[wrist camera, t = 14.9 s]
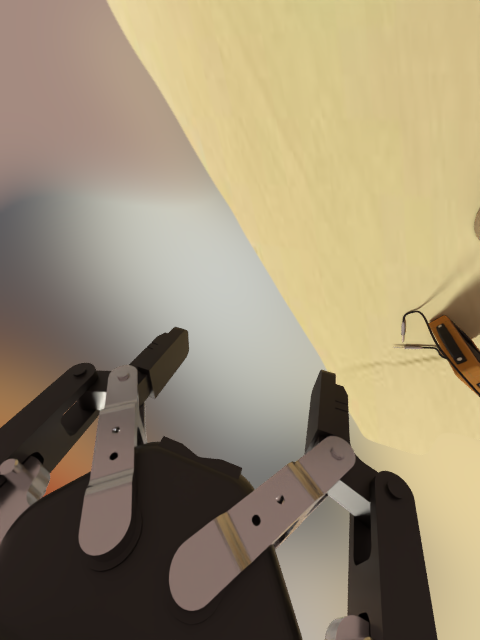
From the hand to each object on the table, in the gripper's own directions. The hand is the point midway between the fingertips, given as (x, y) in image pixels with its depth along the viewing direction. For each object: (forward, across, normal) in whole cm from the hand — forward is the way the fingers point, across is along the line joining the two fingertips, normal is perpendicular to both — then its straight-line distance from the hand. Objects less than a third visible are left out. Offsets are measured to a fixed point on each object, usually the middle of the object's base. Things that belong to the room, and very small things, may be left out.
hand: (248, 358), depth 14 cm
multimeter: (+33, -26, +16) cm, 45 cm away
